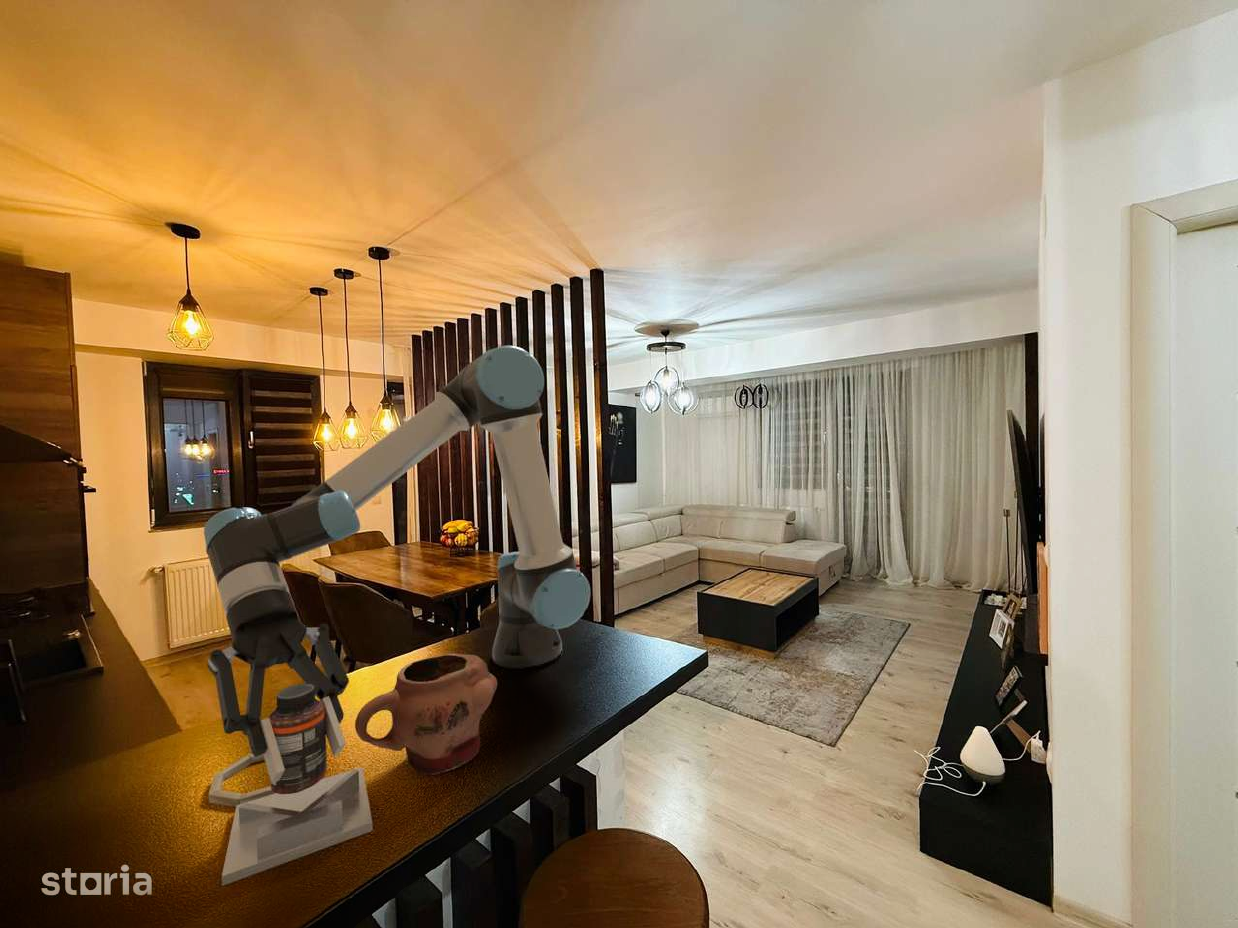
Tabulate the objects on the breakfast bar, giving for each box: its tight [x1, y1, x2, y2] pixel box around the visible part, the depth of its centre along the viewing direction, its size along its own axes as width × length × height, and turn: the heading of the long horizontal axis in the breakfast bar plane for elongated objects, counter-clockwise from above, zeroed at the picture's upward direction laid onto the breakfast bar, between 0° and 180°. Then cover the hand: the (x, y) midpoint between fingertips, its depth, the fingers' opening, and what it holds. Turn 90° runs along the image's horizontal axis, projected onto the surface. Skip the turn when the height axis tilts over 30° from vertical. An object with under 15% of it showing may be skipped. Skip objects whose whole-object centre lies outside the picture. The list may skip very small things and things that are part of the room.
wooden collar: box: [208, 753, 275, 808], centre depth 71 cm, size 12×12×1 cm
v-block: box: [221, 766, 374, 887], centre depth 62 cm, size 13×14×4 cm
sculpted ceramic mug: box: [354, 653, 498, 775], centre depth 73 cm, size 20×12×14 cm, turn 138°
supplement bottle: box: [268, 683, 328, 794], centre depth 63 cm, size 6×6×11 cm
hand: (310, 762), depth 60 cm, fingers closed on supplement bottle, 6 cm apart
